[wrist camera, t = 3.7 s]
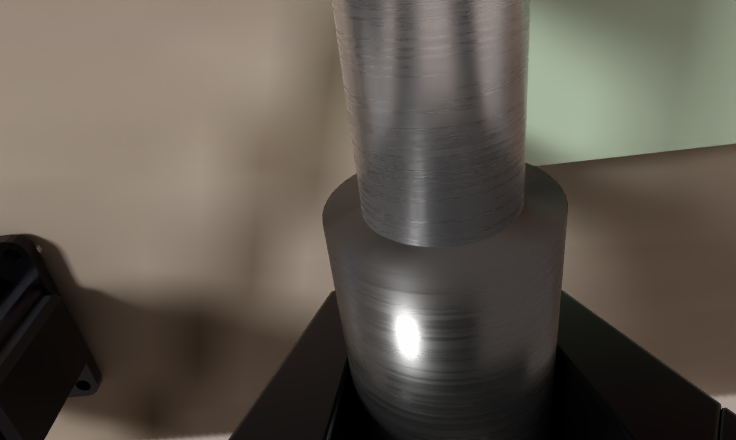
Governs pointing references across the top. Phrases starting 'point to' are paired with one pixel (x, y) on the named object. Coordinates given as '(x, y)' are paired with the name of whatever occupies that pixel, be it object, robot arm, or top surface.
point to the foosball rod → (444, 224)
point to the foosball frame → (629, 78)
